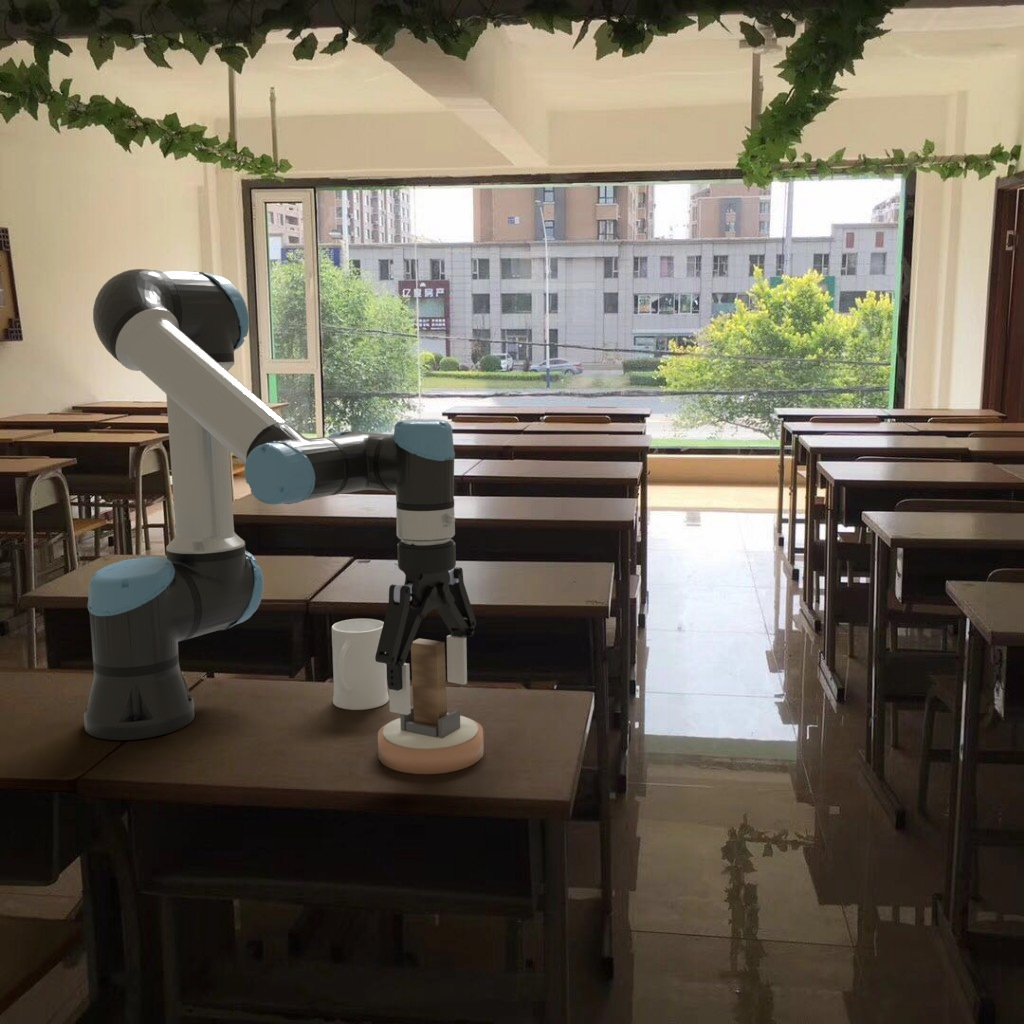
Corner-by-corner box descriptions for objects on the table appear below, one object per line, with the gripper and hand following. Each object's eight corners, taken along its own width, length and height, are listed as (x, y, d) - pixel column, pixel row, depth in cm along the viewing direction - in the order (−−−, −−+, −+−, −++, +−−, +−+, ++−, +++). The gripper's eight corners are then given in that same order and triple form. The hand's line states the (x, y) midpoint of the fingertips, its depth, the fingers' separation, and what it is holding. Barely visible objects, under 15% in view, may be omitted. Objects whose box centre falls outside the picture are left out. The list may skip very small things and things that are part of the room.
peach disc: (357, 761, 141) (355, 718, 140) (417, 727, 153) (416, 688, 152) (446, 782, 134) (446, 737, 133) (502, 745, 146) (502, 703, 145)
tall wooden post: (414, 728, 143) (410, 642, 141) (422, 723, 145) (419, 638, 143) (439, 733, 141) (436, 646, 139) (447, 728, 143) (444, 642, 141)
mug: (362, 720, 156) (360, 640, 155) (311, 714, 159) (308, 635, 157) (398, 695, 167) (396, 620, 166) (349, 689, 170) (347, 616, 168)
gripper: (393, 559, 127) (398, 731, 130) (499, 526, 148) (501, 675, 151) (343, 553, 130) (348, 721, 134) (453, 522, 152) (456, 667, 155)
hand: (429, 697), depth 143 cm, fingers open, 13 cm apart
